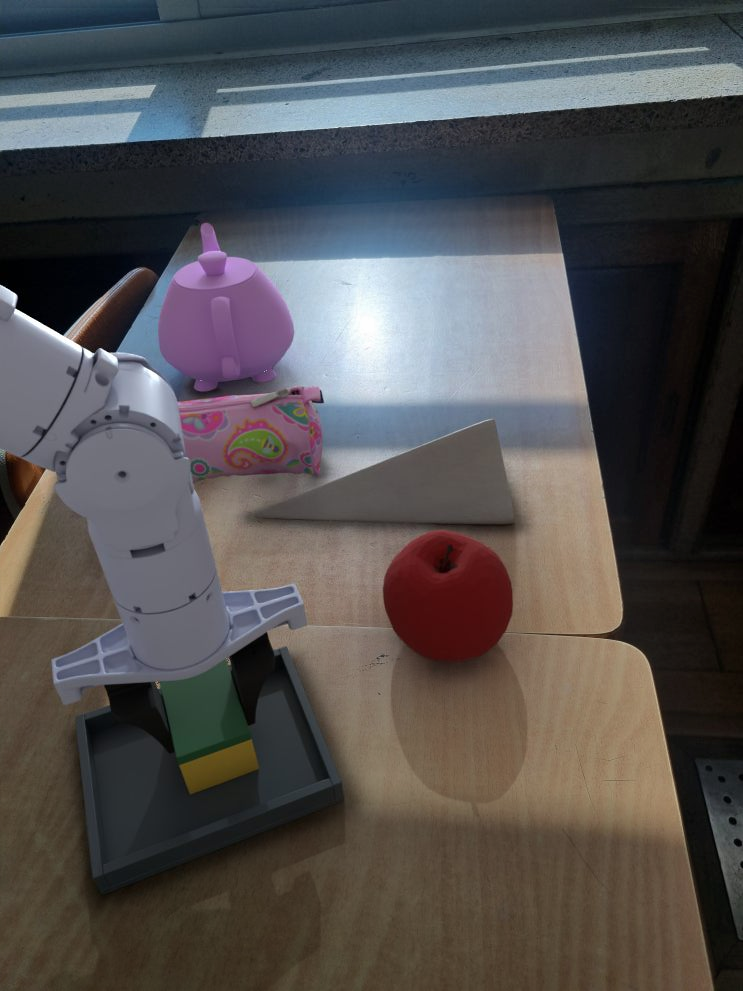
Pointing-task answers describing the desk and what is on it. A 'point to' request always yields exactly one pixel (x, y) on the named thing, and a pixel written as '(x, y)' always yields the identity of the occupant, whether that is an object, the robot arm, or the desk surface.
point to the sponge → (208, 728)
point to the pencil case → (253, 434)
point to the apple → (448, 596)
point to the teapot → (223, 319)
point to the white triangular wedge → (417, 486)
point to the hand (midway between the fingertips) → (210, 726)
